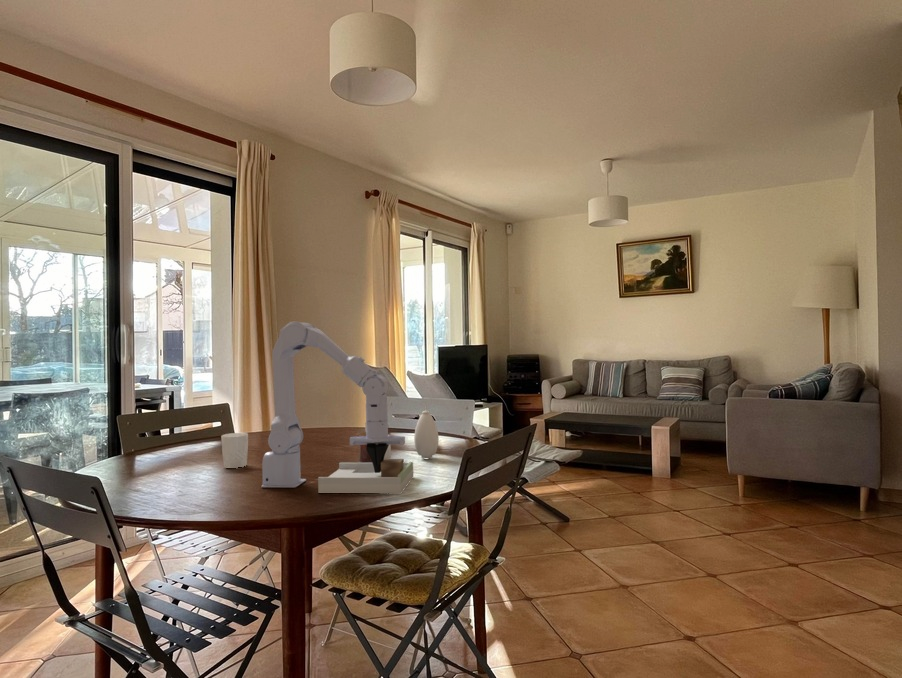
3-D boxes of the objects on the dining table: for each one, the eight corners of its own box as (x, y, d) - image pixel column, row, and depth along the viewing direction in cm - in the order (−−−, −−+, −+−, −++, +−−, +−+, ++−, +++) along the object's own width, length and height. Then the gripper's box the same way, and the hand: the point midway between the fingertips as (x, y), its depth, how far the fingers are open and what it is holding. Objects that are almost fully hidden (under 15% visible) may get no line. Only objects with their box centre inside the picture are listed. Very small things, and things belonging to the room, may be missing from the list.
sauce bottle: (437, 461, 178) (436, 404, 178) (412, 461, 179) (411, 404, 179) (440, 456, 185) (439, 401, 186) (416, 456, 186) (415, 402, 186)
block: (381, 478, 146) (380, 462, 146) (385, 473, 151) (385, 458, 151) (400, 478, 146) (399, 462, 146) (403, 473, 151) (403, 458, 151)
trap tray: (318, 493, 142) (318, 476, 142) (340, 476, 159) (339, 461, 160) (400, 494, 139) (400, 476, 139) (413, 476, 157) (412, 461, 157)
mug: (362, 464, 176) (361, 431, 176) (389, 464, 175) (388, 431, 175) (350, 472, 164) (349, 437, 164) (379, 473, 163) (378, 437, 163)
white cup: (242, 469, 172) (241, 436, 173) (217, 469, 173) (216, 437, 173) (252, 463, 180) (252, 432, 180) (228, 464, 181) (227, 433, 181)
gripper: (345, 422, 146) (346, 475, 146) (400, 422, 144) (401, 475, 144) (353, 419, 153) (354, 469, 153) (405, 418, 151) (407, 469, 151)
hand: (377, 471), depth 149 cm, fingers closed
